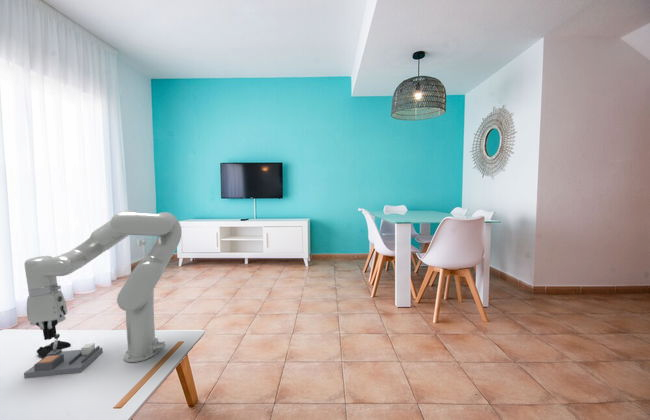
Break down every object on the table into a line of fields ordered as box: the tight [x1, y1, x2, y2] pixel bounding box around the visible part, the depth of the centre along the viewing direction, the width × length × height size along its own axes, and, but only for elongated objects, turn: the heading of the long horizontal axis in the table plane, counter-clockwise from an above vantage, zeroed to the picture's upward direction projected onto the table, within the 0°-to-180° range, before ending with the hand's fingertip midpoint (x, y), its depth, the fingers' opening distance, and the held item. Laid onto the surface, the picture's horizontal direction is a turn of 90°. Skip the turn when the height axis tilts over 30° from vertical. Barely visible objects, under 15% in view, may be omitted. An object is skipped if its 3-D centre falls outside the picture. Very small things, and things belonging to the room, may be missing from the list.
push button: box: [38, 355, 59, 364], centre depth 103 cm, size 4×4×2 cm
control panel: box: [23, 345, 104, 379], centre depth 107 cm, size 18×13×5 cm
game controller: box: [36, 339, 72, 359], centre depth 116 cm, size 10×5×7 cm
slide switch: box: [80, 343, 96, 355], centre depth 111 cm, size 3×3×3 cm
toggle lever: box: [53, 333, 61, 351], centre depth 111 cm, size 2×2×6 cm
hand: (50, 337), depth 103 cm, fingers closed
